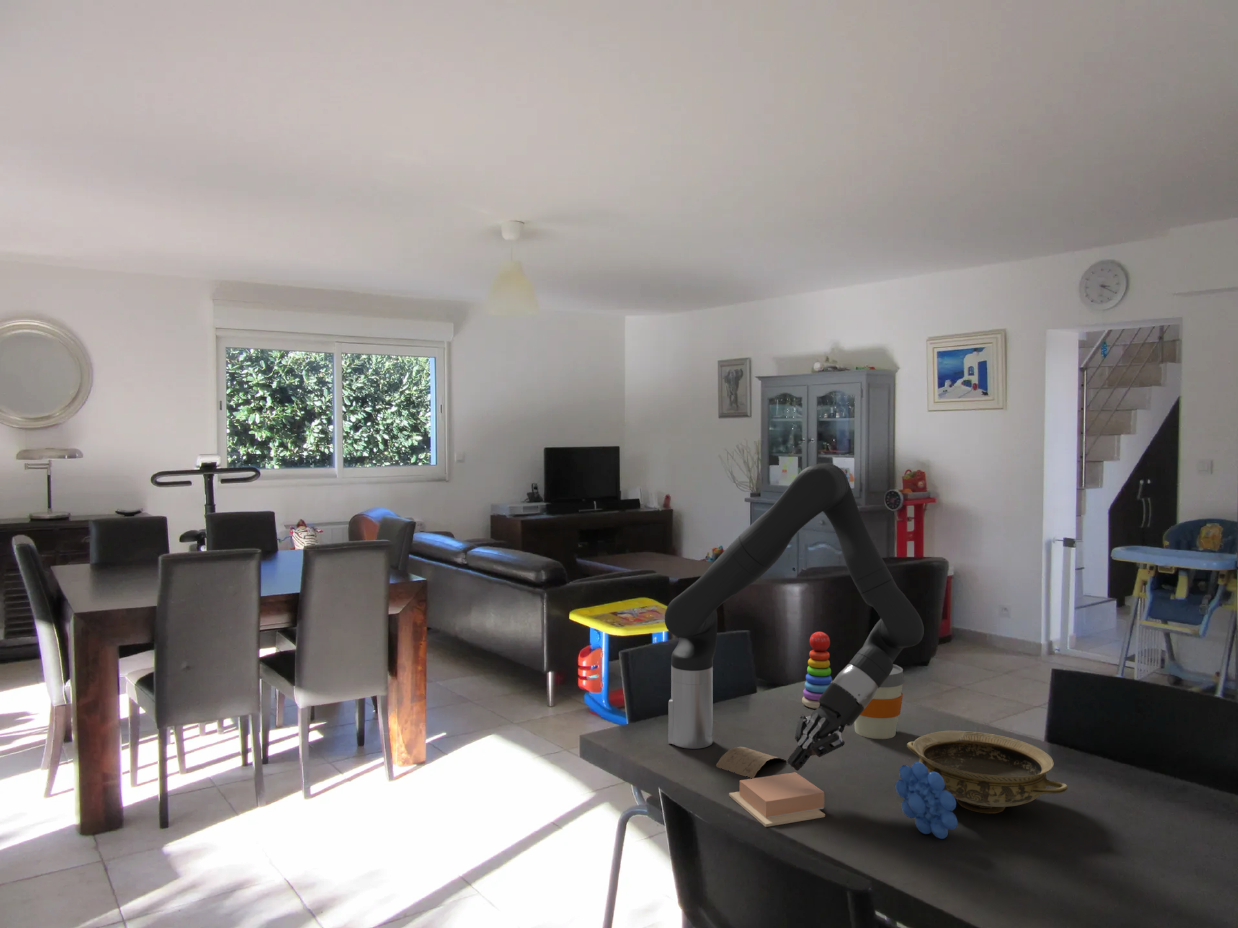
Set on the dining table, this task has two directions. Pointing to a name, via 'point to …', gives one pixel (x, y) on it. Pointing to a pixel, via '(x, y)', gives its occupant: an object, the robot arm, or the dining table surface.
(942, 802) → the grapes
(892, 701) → the reusable coffee cup
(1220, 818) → the dining table surface
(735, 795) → the mat
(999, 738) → the ceramic bowl
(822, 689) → the stacking toy
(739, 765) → the curved bark piece
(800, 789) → the tile
